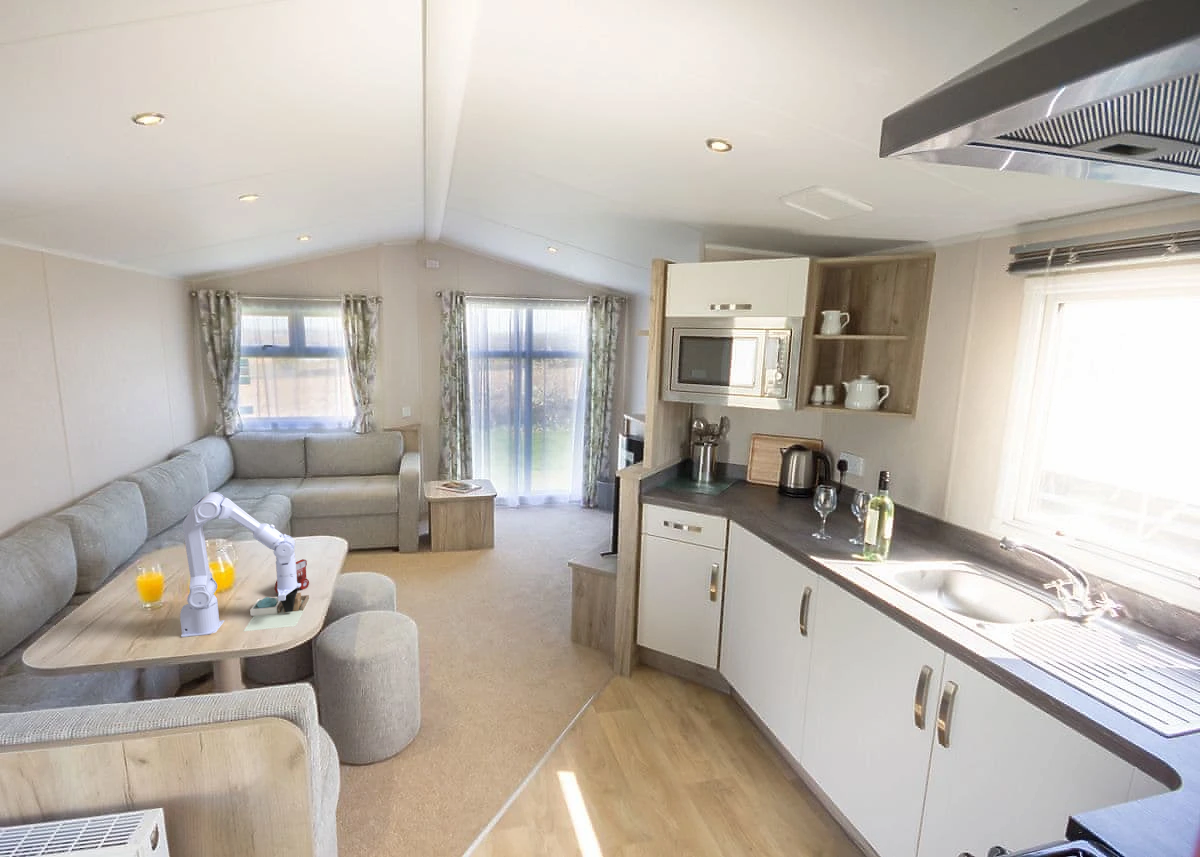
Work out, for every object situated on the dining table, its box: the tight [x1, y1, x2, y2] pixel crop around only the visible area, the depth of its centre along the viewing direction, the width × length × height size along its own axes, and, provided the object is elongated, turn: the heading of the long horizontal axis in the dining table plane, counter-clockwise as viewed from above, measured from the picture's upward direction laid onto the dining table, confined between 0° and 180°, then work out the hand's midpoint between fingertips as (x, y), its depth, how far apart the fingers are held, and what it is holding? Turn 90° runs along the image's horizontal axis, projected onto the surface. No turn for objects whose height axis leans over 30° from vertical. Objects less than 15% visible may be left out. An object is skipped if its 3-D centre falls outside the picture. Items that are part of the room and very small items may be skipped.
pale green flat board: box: [243, 594, 311, 632], centre depth 186 cm, size 16×20×3 cm
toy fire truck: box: [274, 559, 310, 594], centre depth 203 cm, size 7×12×10 cm, turn 157°
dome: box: [257, 596, 277, 608], centre depth 188 cm, size 6×6×4 cm
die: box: [283, 592, 302, 612], centre depth 189 cm, size 5×4×5 cm
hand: (289, 611), depth 186 cm, fingers closed
